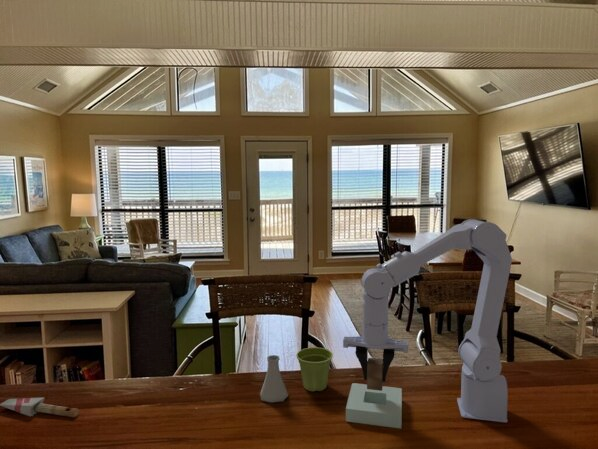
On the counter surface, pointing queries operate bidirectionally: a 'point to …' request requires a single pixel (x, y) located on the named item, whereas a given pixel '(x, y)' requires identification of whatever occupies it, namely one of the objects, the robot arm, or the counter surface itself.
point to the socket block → (375, 406)
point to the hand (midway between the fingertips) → (375, 379)
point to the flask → (273, 382)
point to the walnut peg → (374, 374)
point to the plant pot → (314, 367)
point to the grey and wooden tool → (37, 407)
